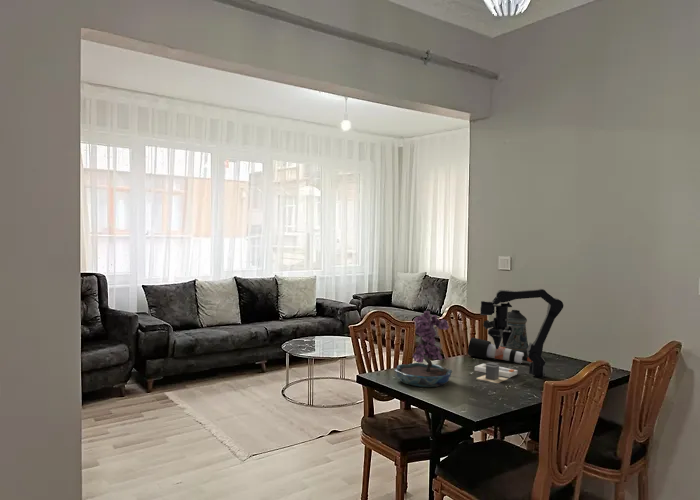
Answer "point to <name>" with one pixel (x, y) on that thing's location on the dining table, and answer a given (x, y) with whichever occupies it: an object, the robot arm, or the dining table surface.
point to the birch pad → (491, 380)
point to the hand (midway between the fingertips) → (500, 347)
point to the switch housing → (502, 371)
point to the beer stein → (517, 332)
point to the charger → (492, 371)
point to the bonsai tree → (425, 356)
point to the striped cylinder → (494, 351)
